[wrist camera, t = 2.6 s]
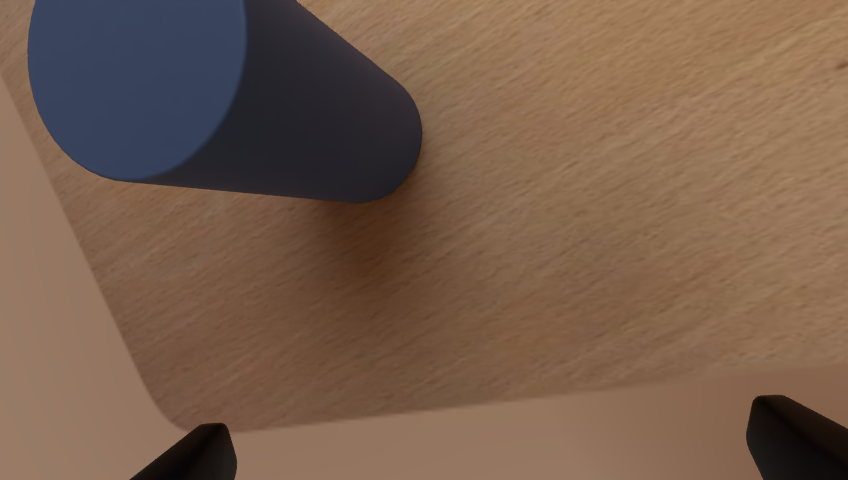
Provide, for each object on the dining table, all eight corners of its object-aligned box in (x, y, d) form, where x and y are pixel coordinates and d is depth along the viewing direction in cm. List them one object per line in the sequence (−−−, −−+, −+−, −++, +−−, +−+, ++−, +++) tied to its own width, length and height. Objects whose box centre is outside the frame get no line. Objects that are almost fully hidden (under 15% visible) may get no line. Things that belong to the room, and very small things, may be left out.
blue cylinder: (427, 196, 22) (257, 166, 10) (305, 208, 23) (36, 193, 12) (416, 60, 21) (234, -129, 10) (295, 81, 23) (15, -61, 12)
